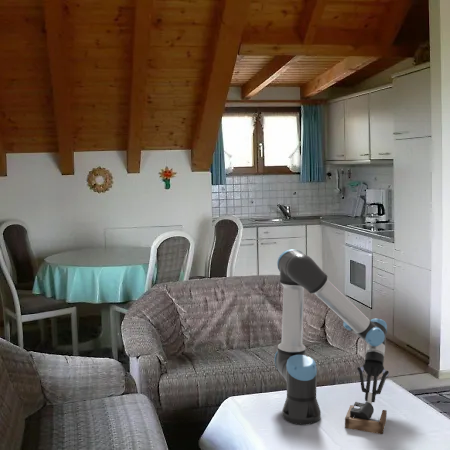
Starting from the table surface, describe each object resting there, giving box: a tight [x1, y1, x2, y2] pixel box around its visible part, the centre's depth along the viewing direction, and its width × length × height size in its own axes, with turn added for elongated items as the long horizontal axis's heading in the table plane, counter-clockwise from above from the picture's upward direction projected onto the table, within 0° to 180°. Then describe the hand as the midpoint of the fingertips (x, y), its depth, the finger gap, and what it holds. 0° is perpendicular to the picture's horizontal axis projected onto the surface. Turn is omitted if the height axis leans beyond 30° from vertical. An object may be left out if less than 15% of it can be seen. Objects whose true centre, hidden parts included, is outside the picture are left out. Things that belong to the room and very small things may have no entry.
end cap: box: [350, 401, 375, 420], centre depth 223 cm, size 10×7×7 cm
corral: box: [344, 404, 387, 435], centre depth 222 cm, size 14×12×4 cm
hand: (368, 409), depth 228 cm, fingers closed
